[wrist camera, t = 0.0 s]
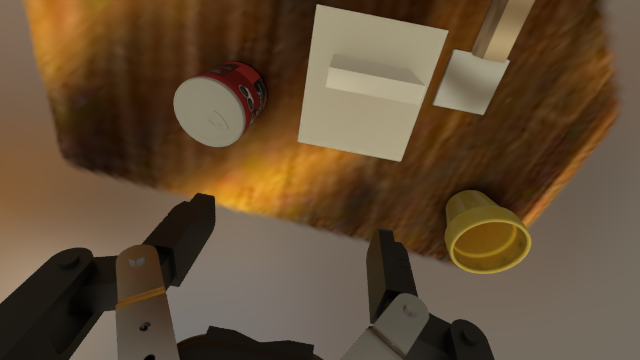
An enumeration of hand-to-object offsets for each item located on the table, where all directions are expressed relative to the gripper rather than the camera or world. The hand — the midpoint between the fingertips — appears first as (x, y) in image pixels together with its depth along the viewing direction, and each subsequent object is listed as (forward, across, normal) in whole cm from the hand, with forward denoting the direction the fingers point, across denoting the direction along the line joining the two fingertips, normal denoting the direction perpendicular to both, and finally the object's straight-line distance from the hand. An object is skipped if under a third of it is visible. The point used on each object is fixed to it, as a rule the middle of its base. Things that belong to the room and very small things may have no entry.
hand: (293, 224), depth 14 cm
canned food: (+30, +12, +3) cm, 32 cm away
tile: (+29, -5, -3) cm, 29 cm away
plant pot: (+30, -26, +15) cm, 42 cm away
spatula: (+29, -18, -9) cm, 35 cm away
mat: (+29, -5, 0) cm, 30 cm away
